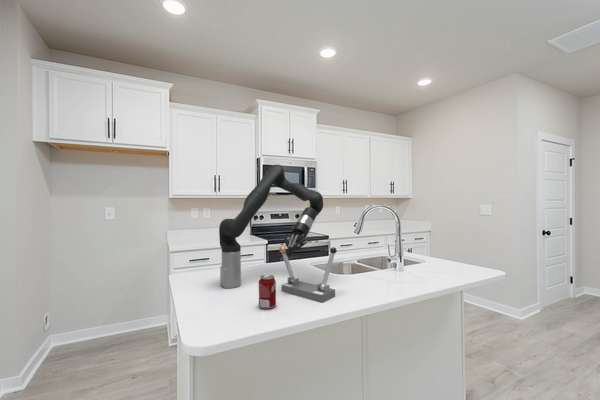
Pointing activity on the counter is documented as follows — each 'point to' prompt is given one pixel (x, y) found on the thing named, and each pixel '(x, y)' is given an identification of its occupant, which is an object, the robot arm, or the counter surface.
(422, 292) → the counter surface
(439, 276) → the counter surface
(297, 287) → the switch bar
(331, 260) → the black lever
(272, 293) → the soda can
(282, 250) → the copper lever
